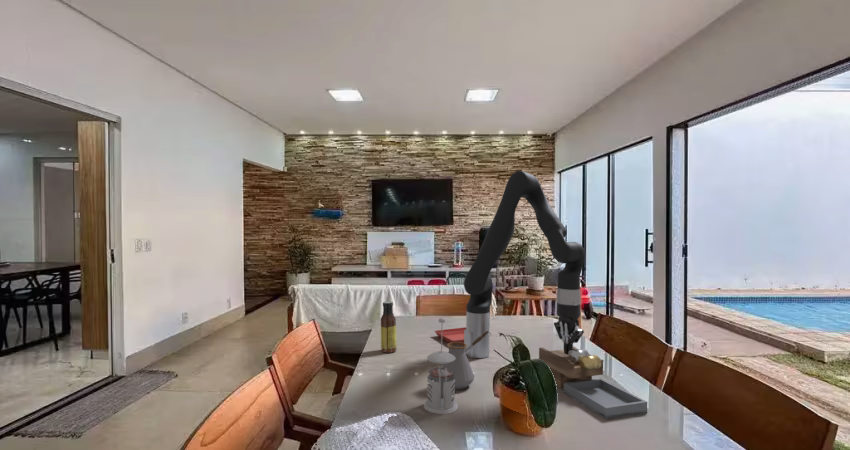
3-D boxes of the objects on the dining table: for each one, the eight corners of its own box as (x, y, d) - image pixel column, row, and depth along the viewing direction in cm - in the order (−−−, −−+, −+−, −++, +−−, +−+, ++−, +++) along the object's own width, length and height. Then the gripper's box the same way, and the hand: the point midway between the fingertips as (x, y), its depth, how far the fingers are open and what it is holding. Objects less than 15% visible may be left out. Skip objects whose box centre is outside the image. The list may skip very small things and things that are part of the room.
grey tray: (606, 419, 109) (606, 408, 109) (563, 392, 126) (563, 383, 126) (647, 412, 113) (647, 401, 113) (600, 387, 131) (600, 378, 131)
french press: (456, 398, 121) (457, 314, 121) (460, 417, 109) (462, 323, 109) (422, 398, 121) (424, 314, 121) (424, 417, 109) (425, 323, 109)
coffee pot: (455, 395, 124) (456, 345, 124) (431, 383, 132) (431, 337, 132) (501, 378, 137) (502, 334, 137) (476, 369, 146) (477, 327, 146)
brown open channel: (570, 394, 125) (571, 363, 125) (538, 375, 141) (539, 347, 141) (602, 390, 128) (603, 360, 128) (568, 371, 144) (568, 345, 144)
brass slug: (583, 354, 125) (576, 359, 127) (589, 367, 122) (582, 372, 125) (597, 352, 126) (590, 358, 129) (603, 365, 124) (595, 370, 126)
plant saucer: (433, 337, 188) (433, 330, 188) (467, 333, 196) (467, 326, 196) (452, 348, 172) (452, 340, 172) (488, 343, 179) (488, 336, 179)
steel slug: (571, 347, 130) (566, 354, 132) (578, 358, 127) (572, 365, 130) (584, 346, 132) (579, 353, 134) (591, 357, 129) (585, 364, 131)
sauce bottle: (397, 349, 168) (398, 300, 168) (395, 353, 162) (395, 303, 162) (382, 348, 169) (382, 300, 169) (378, 353, 163) (379, 303, 163)
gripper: (546, 299, 141) (546, 349, 141) (571, 306, 128) (571, 361, 128) (565, 298, 143) (564, 347, 143) (591, 305, 131) (591, 359, 131)
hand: (568, 354), depth 136 cm, fingers closed
